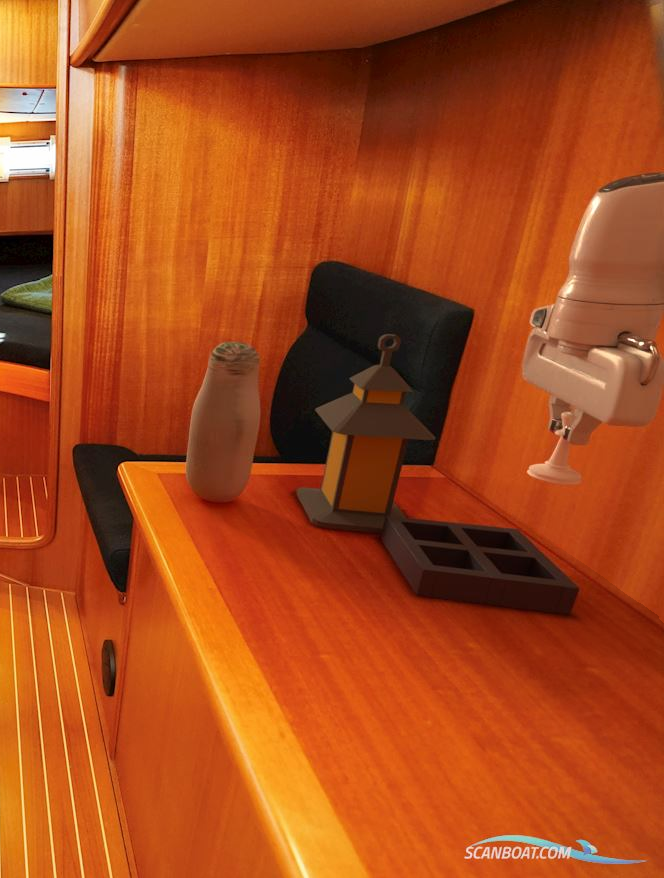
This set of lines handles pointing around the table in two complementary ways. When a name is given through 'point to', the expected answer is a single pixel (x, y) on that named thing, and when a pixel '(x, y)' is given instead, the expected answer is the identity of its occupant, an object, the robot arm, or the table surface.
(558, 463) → the chess piece
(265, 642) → the table surface
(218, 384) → the beige bottle
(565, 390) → the robot arm
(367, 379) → the lantern
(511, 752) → the table surface
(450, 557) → the compartment tray
